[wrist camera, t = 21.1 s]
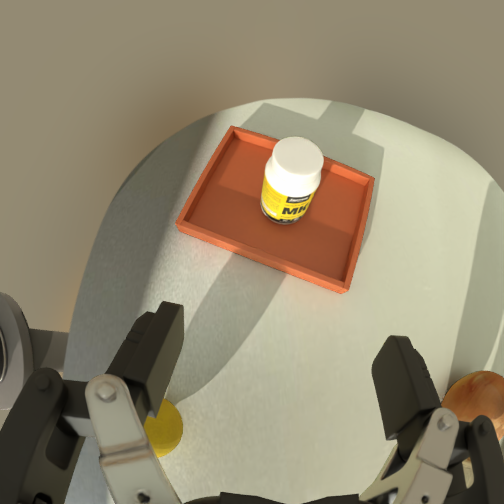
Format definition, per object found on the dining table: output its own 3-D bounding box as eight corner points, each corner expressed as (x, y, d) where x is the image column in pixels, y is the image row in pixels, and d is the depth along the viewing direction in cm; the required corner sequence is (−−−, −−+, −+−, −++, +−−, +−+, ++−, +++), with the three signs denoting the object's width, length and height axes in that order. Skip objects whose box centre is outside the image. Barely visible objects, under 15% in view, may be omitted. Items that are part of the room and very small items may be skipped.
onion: (483, 393, 22) (537, 396, 12) (441, 455, 20) (491, 476, 10) (455, 353, 24) (516, 350, 14) (406, 422, 22) (464, 445, 12)
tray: (179, 231, 27) (174, 223, 25) (231, 136, 31) (230, 125, 29) (341, 294, 26) (348, 290, 24) (368, 186, 29) (375, 177, 27)
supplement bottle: (278, 234, 27) (292, 191, 19) (251, 198, 28) (254, 146, 20) (315, 210, 28) (340, 164, 20) (288, 177, 29) (302, 124, 21)
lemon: (184, 445, 21) (163, 483, 13) (131, 426, 21) (95, 453, 13) (196, 398, 22) (176, 423, 15) (141, 379, 23) (103, 393, 15)
